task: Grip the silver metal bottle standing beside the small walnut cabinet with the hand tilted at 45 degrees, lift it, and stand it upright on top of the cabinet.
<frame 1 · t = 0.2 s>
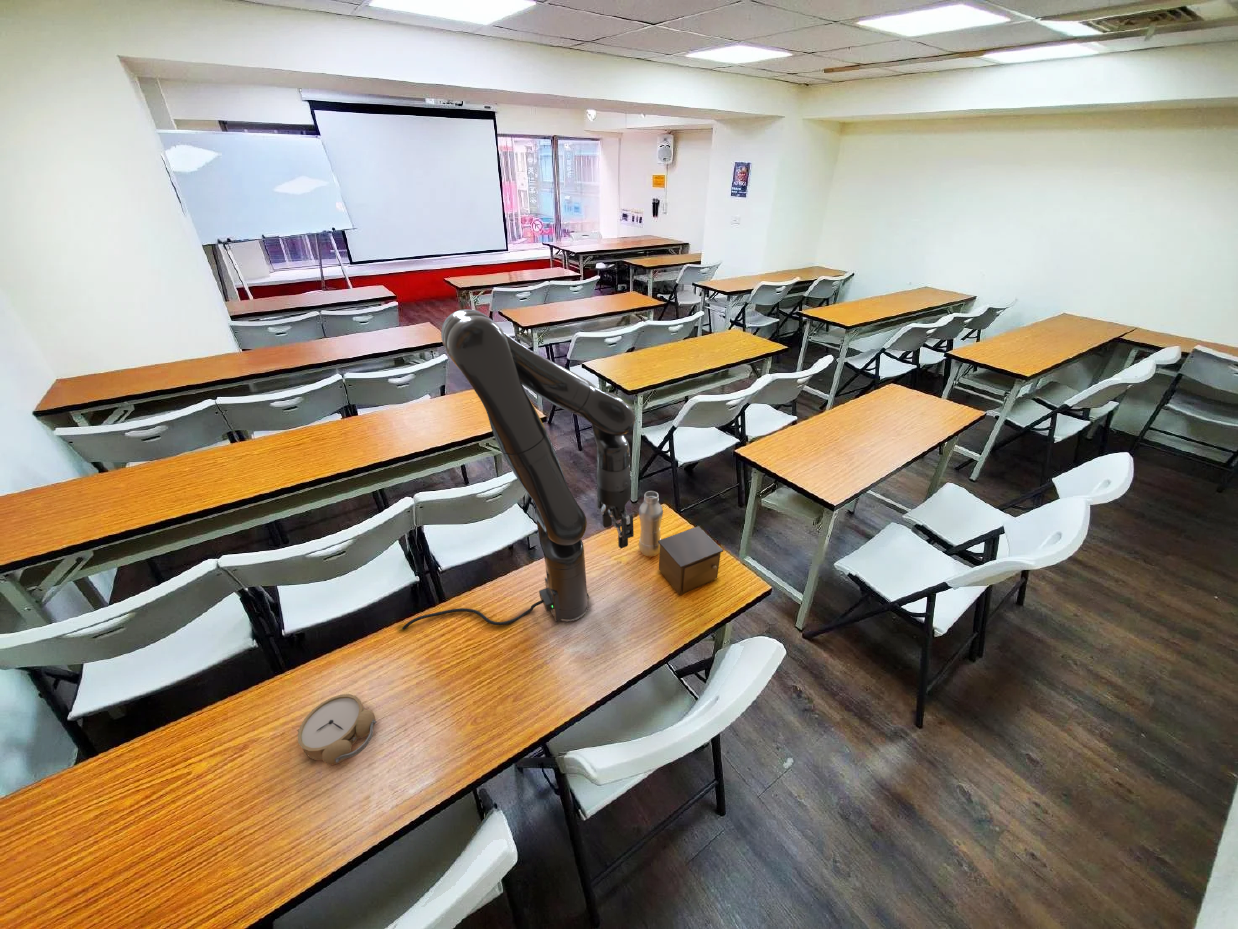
hand: (615, 536, 113), 17 cm above the table, tool pointing down, fingers open, 8 cm apart
silver metal bottle: (650, 552, 134), on the table
alarm clock: (343, 735, 91), on the table
cabinet: (687, 576, 126), on the table
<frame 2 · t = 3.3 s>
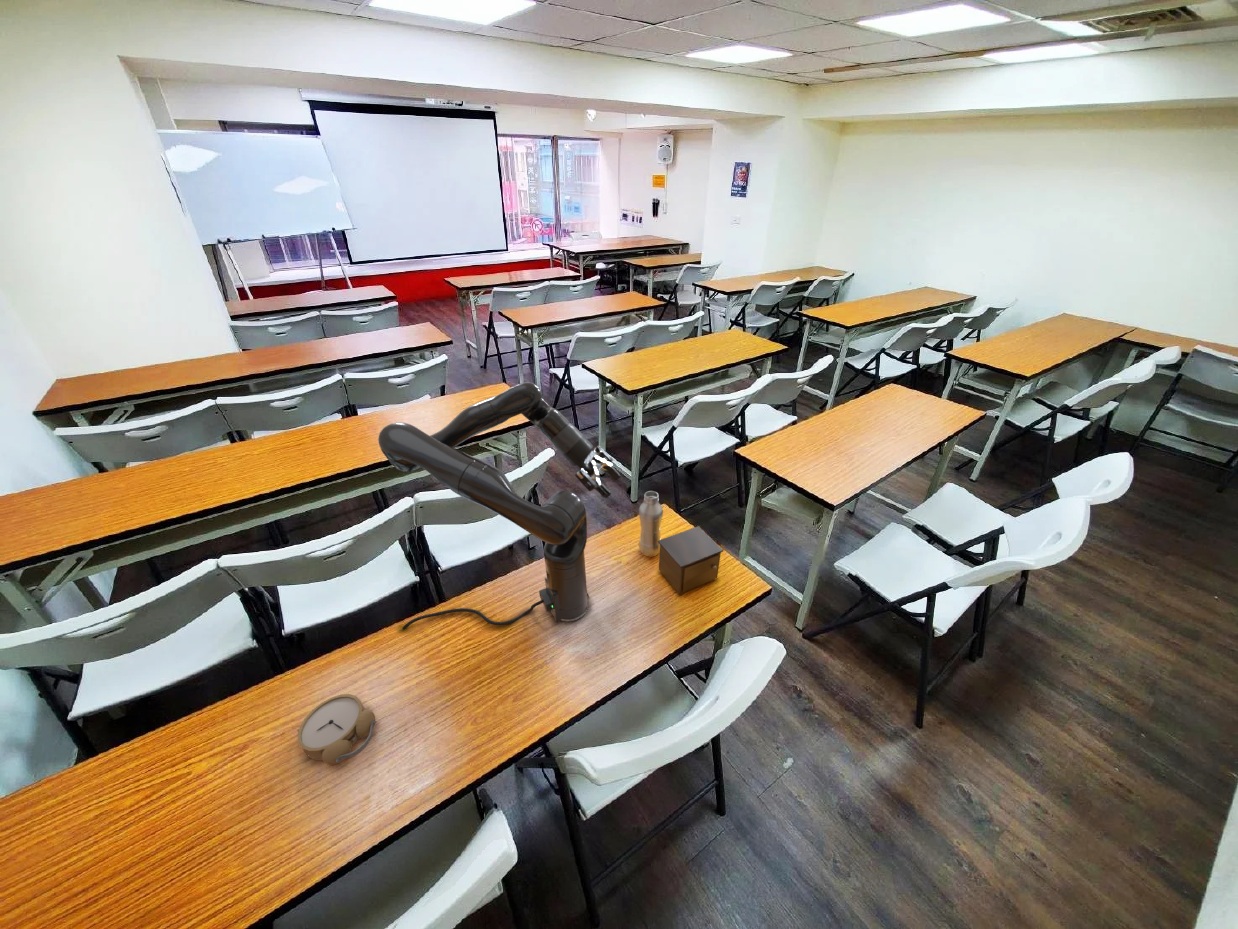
hand: (613, 486, 126), 20 cm above the table, tool tilted 45°, fingers open, 8 cm apart
nothing on the table moved.
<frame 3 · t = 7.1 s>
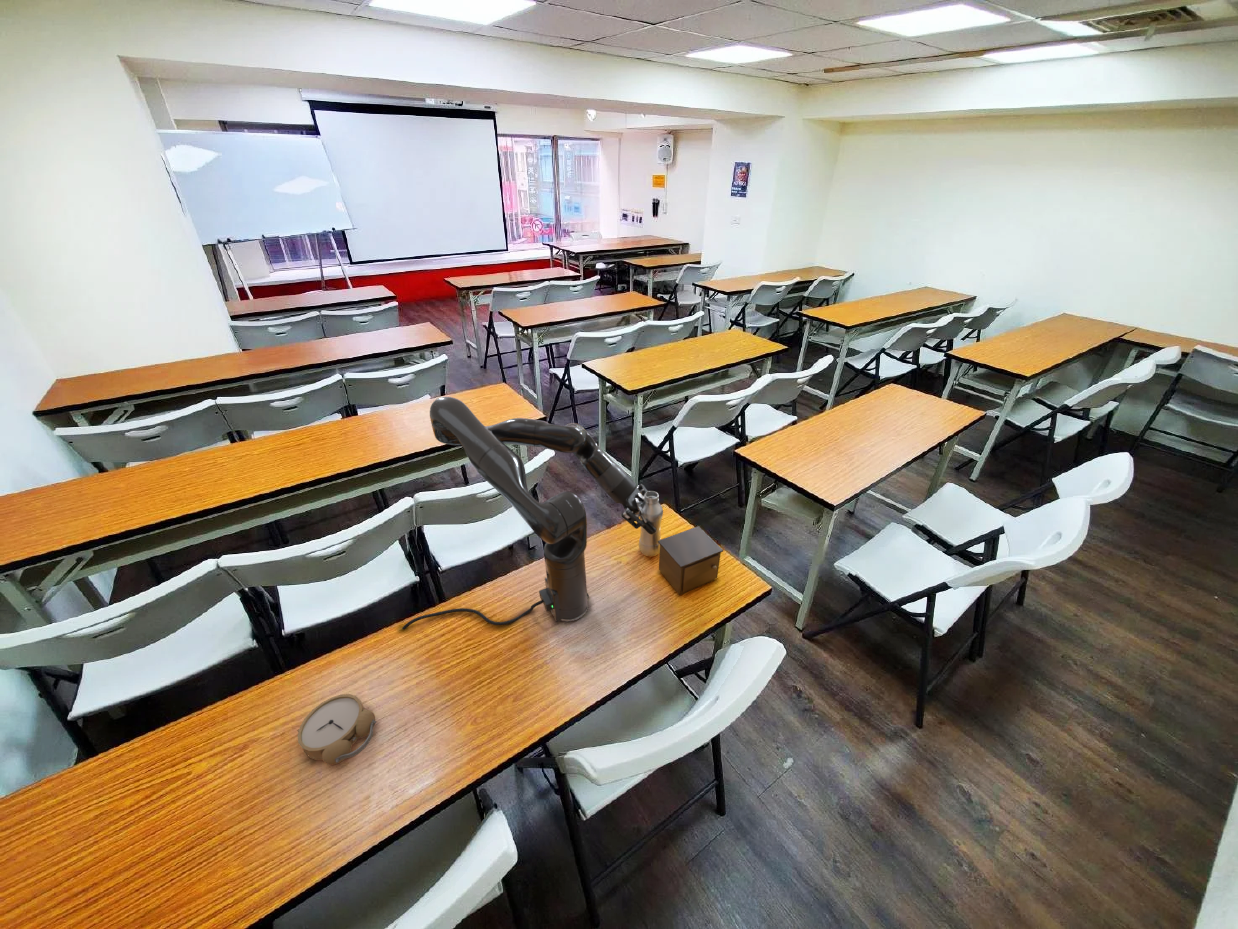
hand: (656, 524, 128), 10 cm above the table, tool tilted 45°, fingers closed on silver metal bottle, 6 cm apart
silver metal bottle: (650, 552, 134), on the table, touching gripper
everything else where it was.
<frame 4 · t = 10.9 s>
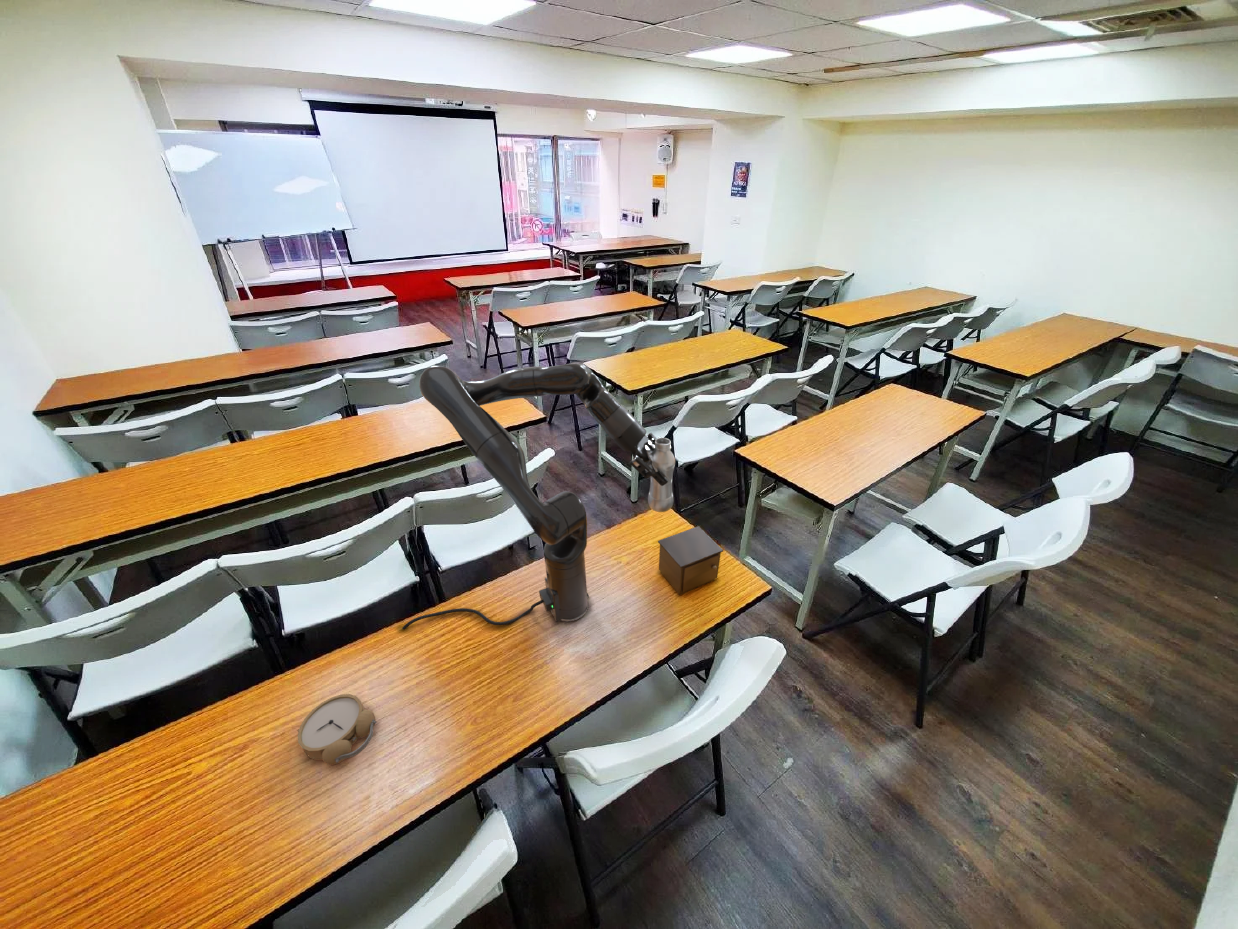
hand: (668, 476, 117), 28 cm above the table, tool tilted 45°, fingers closed on silver metal bottle, 6 cm apart
silver metal bottle: (660, 508, 123), point 17 cm above the table, touching gripper
everything else where it was.
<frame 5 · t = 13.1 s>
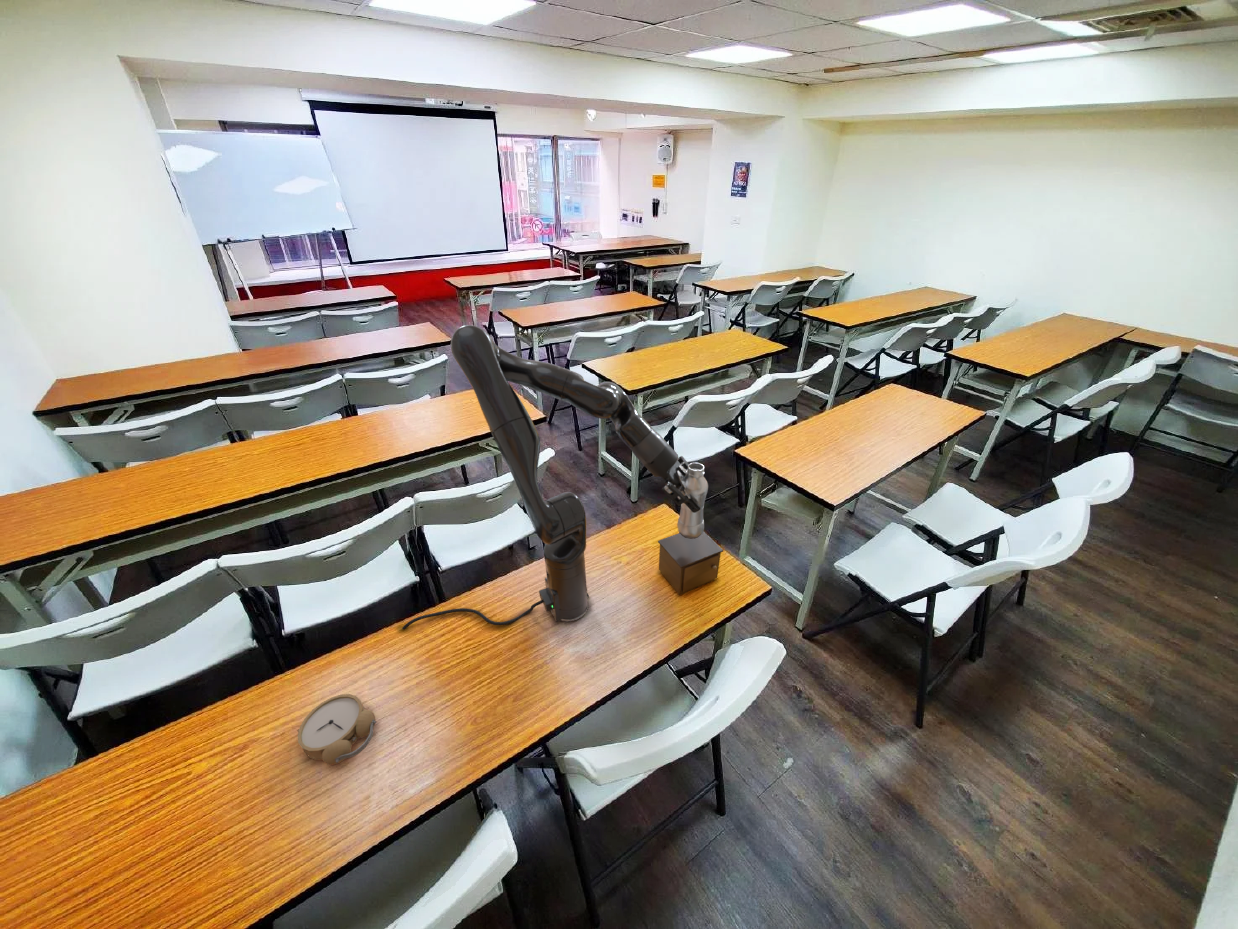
hand: (699, 502, 112), 25 cm above the table, tool tilted 45°, fingers closed on silver metal bottle, 6 cm apart
silver metal bottle: (689, 534, 118), point 15 cm above the table, touching gripper
everything else where it was.
when the fingers open (21 cm above the table, at t = 14.8 s): silver metal bottle stays where it is, resting on cabinet.
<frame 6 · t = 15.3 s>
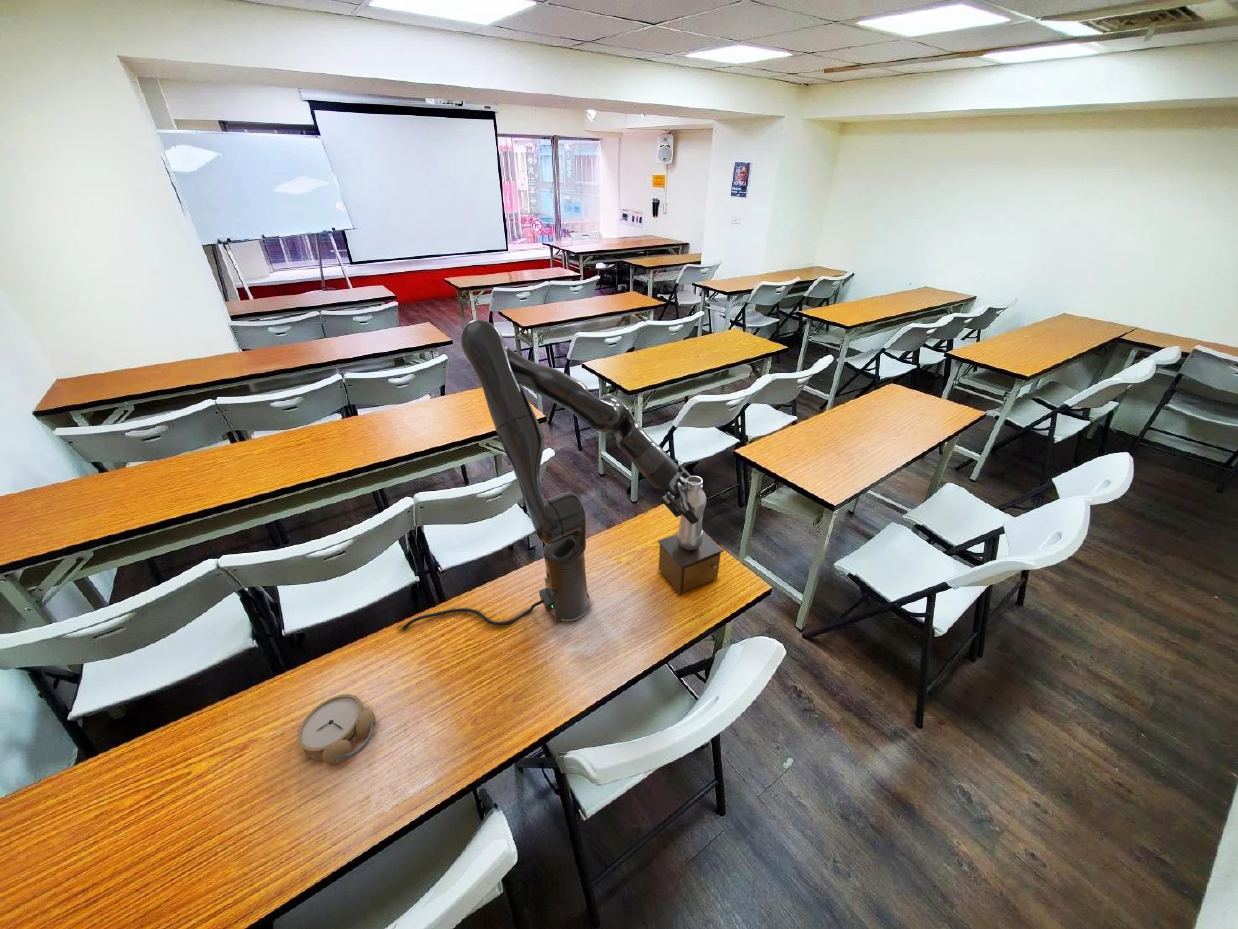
hand: (699, 511, 113), 22 cm above the table, tool tilted 45°, fingers open, 8 cm apart
silver metal bottle: (688, 545, 120), point 11 cm above the table, touching cabinet
everything else where it was.
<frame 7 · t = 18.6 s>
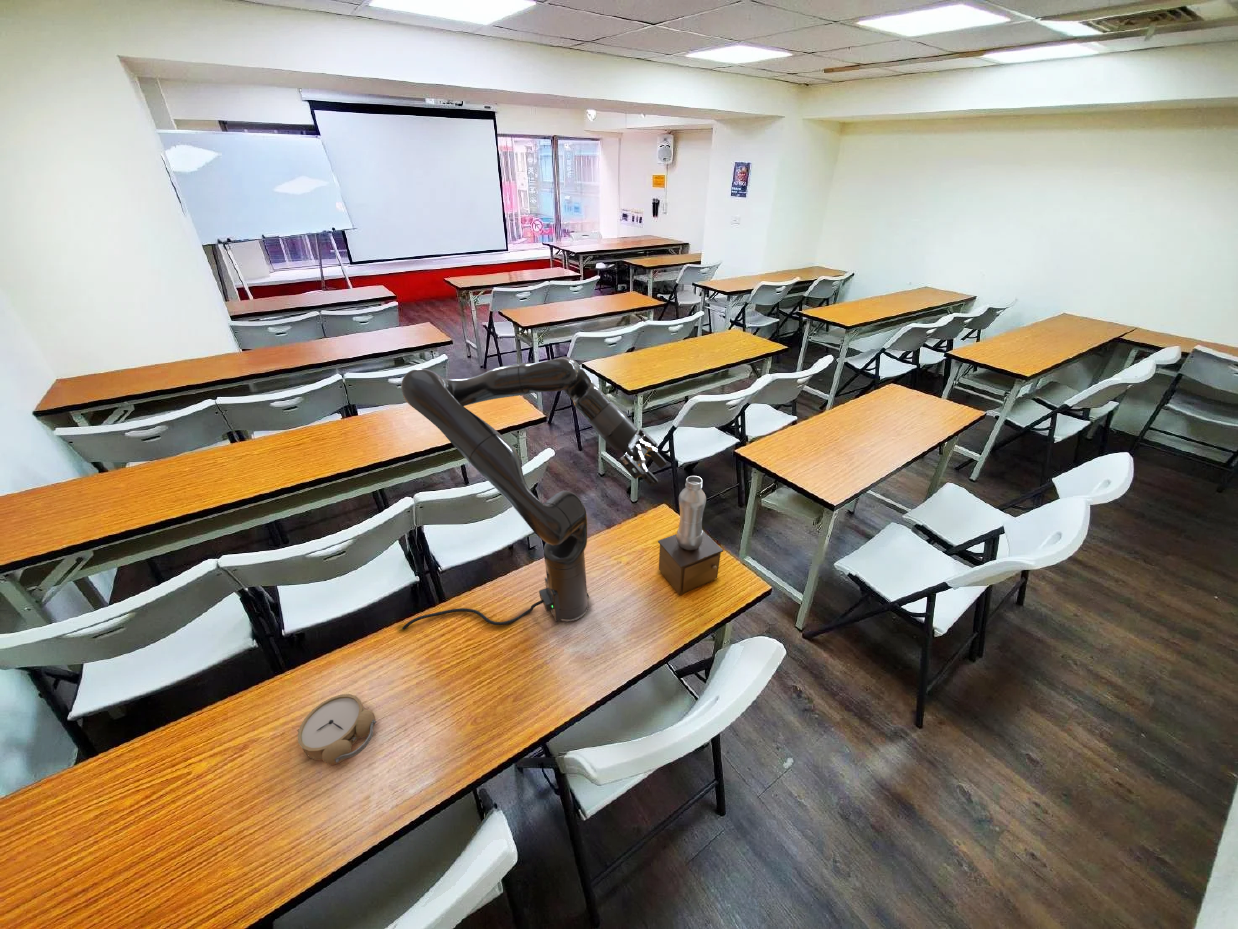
hand: (659, 474, 112), 31 cm above the table, tool tilted 45°, fingers open, 8 cm apart
nothing on the table moved.
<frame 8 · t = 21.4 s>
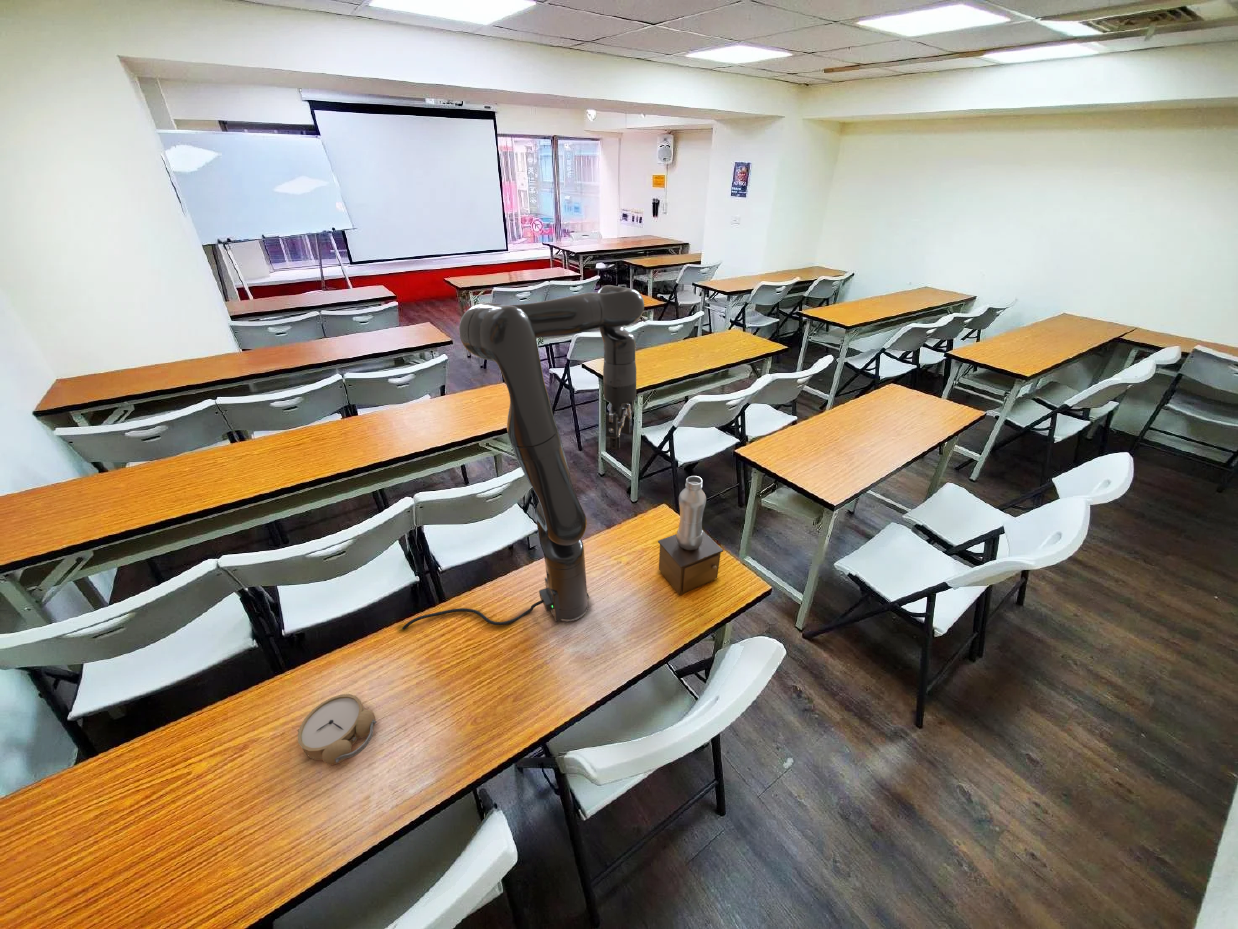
hand: (620, 441, 115), 36 cm above the table, tool pointing down, fingers open, 8 cm apart
nothing on the table moved.
at the end: silver metal bottle inside the target area on the cabinet (0.4 cm from its centre), point 10.8 cm above the cabinet's base; silver metal bottle tilted 0°; the gripper is holding nothing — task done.
